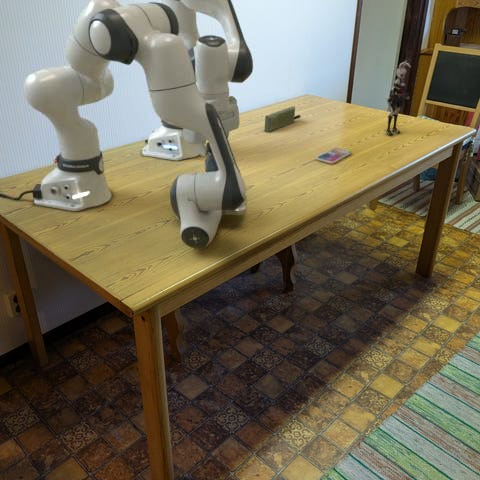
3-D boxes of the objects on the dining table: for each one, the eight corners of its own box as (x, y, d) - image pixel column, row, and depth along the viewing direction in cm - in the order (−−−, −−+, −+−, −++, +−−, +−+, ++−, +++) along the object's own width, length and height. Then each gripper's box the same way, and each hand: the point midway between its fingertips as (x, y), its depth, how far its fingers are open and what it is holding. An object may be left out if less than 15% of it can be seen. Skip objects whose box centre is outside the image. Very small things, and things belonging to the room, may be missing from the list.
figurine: (387, 138, 208) (399, 62, 194) (375, 134, 212) (386, 59, 197) (406, 131, 217) (419, 57, 202) (394, 128, 221) (406, 55, 206)
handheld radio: (263, 130, 215) (295, 118, 232) (269, 132, 213) (301, 119, 230) (264, 115, 212) (297, 103, 229) (270, 117, 210) (303, 105, 227)
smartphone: (352, 151, 191) (332, 162, 181) (352, 154, 191) (332, 165, 181) (335, 147, 195) (315, 157, 185) (335, 149, 195) (314, 159, 185)
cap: (214, 147, 145) (214, 140, 144) (224, 150, 142) (224, 143, 141) (203, 150, 142) (203, 143, 141) (213, 154, 139) (213, 147, 138)
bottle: (204, 209, 148) (203, 148, 139) (207, 202, 153) (205, 142, 144) (222, 210, 148) (222, 149, 139) (224, 203, 153) (224, 143, 143)
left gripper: (244, 202, 134) (250, 181, 146) (169, 197, 136) (180, 177, 148) (244, 223, 137) (249, 201, 149) (170, 218, 139) (181, 197, 151)
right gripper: (227, 92, 144) (227, 139, 151) (178, 107, 130) (180, 158, 137) (245, 96, 141) (244, 144, 148) (196, 111, 126) (198, 163, 133)
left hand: (214, 189), depth 149 cm, fingers closed on bottle, 5 cm apart
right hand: (213, 151), depth 142 cm, fingers open, 6 cm apart
